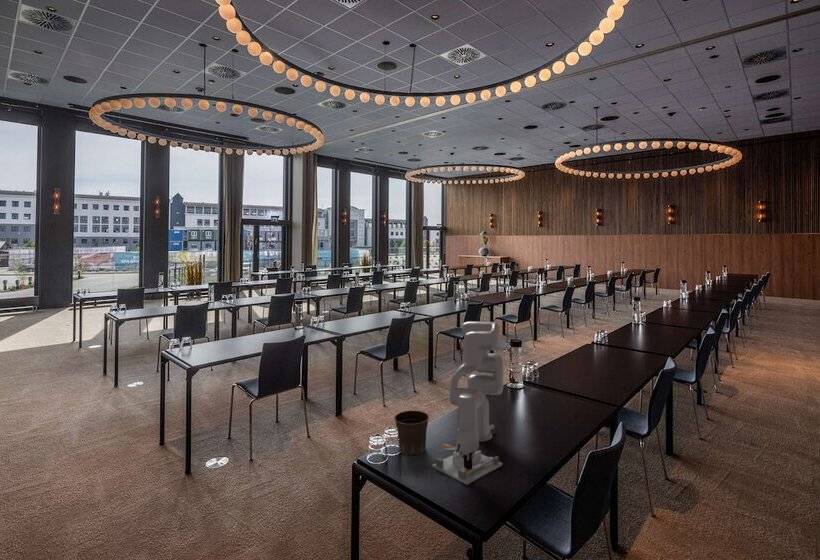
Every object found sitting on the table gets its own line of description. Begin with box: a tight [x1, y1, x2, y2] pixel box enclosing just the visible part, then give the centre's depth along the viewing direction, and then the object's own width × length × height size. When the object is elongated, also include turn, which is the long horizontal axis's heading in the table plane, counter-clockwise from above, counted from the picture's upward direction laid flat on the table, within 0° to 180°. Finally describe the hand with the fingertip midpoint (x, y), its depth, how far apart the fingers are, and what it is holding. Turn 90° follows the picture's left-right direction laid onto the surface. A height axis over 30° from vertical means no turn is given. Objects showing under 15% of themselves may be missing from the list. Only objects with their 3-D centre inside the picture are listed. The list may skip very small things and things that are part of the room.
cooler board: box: [431, 449, 503, 485], centre depth 194 cm, size 23×20×6 cm
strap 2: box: [461, 456, 494, 474], centre depth 190 cm, size 19×3×2 cm, turn 131°
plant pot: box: [394, 410, 430, 456], centre depth 211 cm, size 16×16×16 cm
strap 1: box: [440, 443, 455, 451], centre depth 200 cm, size 19×3×2 cm, turn 132°
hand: (468, 468), depth 185 cm, fingers closed
